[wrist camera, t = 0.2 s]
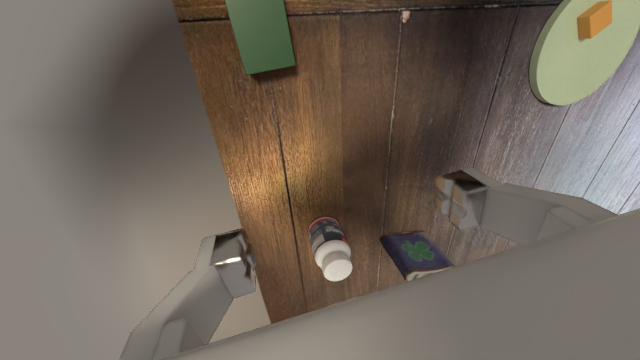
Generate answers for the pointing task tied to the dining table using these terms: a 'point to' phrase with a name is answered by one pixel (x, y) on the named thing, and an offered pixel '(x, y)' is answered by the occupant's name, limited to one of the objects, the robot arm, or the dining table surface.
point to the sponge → (261, 34)
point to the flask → (414, 254)
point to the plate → (580, 51)
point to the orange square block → (595, 19)
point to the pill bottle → (330, 248)
